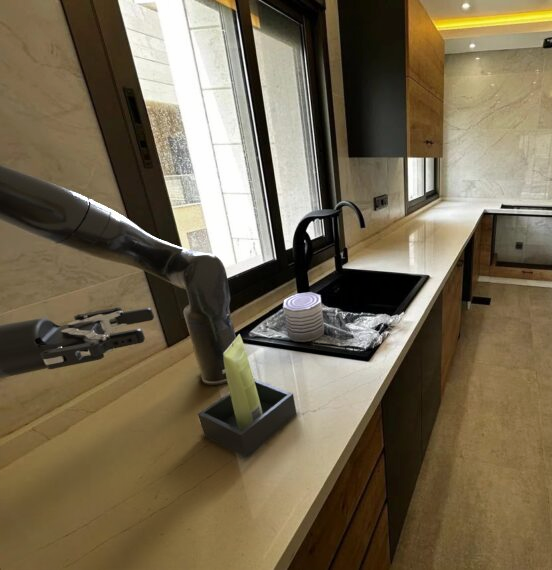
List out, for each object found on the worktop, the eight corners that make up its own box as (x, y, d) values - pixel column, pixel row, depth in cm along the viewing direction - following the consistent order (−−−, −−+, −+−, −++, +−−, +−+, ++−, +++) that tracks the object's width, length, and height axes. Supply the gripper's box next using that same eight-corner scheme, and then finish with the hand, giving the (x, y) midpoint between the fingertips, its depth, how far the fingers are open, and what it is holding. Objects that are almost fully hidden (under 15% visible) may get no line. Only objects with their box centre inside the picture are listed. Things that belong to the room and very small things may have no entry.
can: (332, 329, 109) (328, 296, 105) (307, 345, 99) (302, 309, 95) (306, 322, 113) (301, 290, 109) (280, 337, 104) (274, 302, 99)
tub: (204, 436, 67) (197, 413, 65) (256, 398, 78) (252, 377, 75) (247, 458, 62) (240, 435, 60) (296, 414, 73) (293, 393, 70)
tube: (232, 422, 69) (211, 343, 62) (257, 409, 73) (239, 333, 66) (244, 436, 66) (222, 353, 59) (268, 422, 69) (251, 342, 62)
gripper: (-39, 352, 40) (131, 321, 47) (19, 308, 51) (148, 288, 59) (-9, 401, 43) (147, 364, 50) (39, 349, 54) (161, 325, 62)
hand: (148, 323), depth 55 cm, fingers open, 8 cm apart
